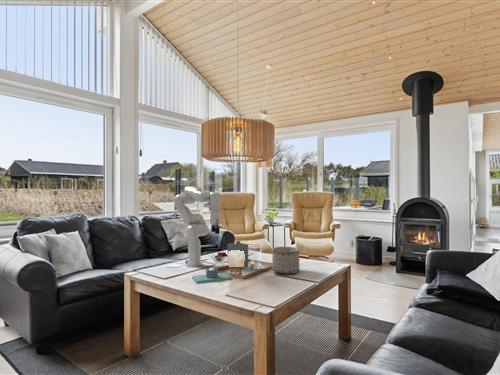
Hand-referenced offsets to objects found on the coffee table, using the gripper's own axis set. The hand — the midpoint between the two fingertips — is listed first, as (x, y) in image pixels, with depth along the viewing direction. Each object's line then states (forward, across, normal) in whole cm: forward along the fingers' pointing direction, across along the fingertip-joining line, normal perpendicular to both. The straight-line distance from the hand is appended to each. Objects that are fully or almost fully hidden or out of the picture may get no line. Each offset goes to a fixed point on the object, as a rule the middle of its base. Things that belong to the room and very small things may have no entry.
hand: (215, 232), depth 234 cm
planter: (+28, +20, +47) cm, 58 cm away
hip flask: (+28, -7, +20) cm, 36 cm away
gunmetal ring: (+27, +16, -7) cm, 32 cm away
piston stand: (+28, +16, -7) cm, 33 cm away
